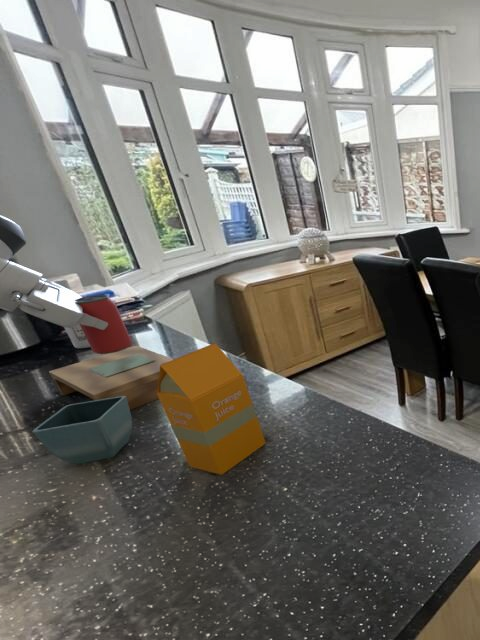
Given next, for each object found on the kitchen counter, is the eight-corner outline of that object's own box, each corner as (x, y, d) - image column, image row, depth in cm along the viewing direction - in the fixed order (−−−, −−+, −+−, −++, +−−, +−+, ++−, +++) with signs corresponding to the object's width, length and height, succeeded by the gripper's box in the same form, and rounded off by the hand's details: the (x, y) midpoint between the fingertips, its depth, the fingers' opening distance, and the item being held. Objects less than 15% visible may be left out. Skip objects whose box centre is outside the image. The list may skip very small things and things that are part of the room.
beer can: (122, 341, 93) (100, 293, 88) (140, 345, 91) (118, 295, 86) (87, 353, 87) (61, 301, 83) (105, 356, 85) (80, 304, 81)
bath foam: (113, 340, 122) (83, 276, 114) (89, 349, 116) (56, 283, 108) (92, 339, 123) (62, 277, 115) (68, 349, 116) (33, 283, 108)
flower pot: (88, 444, 73) (66, 404, 70) (146, 434, 76) (126, 394, 73) (56, 476, 66) (29, 432, 62) (121, 463, 68) (98, 420, 65)
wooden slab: (106, 419, 81) (93, 394, 79) (61, 394, 91) (48, 370, 89) (193, 385, 94) (183, 361, 92) (144, 365, 104) (135, 344, 102)
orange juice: (266, 443, 73) (233, 344, 65) (221, 475, 65) (177, 368, 57) (235, 435, 75) (199, 339, 67) (187, 466, 67) (141, 362, 59)
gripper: (22, 283, 71) (118, 320, 81) (30, 268, 84) (112, 301, 94) (-3, 313, 69) (97, 346, 80) (9, 292, 83) (94, 323, 93)
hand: (105, 322), depth 87 cm, fingers closed on beer can, 6 cm apart
